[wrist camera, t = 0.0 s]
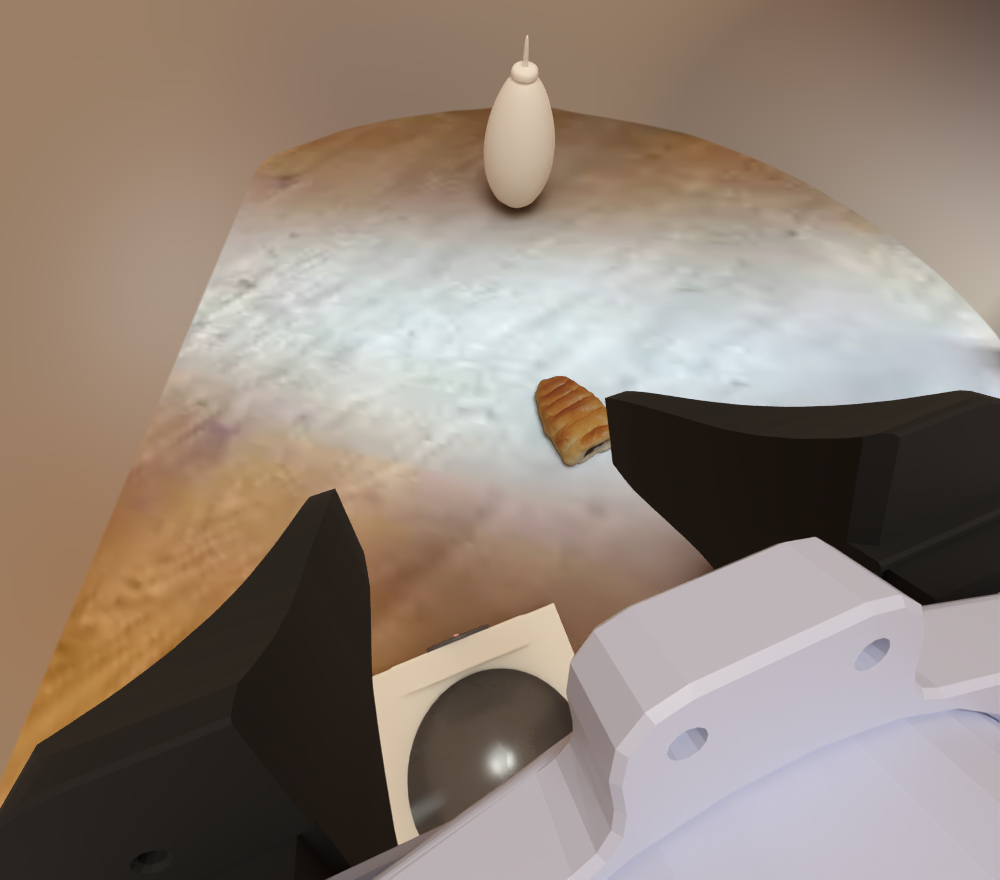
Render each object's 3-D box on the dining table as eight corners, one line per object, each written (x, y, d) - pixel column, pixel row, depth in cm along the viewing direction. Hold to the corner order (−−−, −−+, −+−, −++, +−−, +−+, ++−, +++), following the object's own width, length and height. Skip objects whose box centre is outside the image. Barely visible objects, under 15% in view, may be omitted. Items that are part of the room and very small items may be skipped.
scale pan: (623, 833, 33) (626, 837, 32) (442, 924, 31) (441, 931, 30) (548, 641, 38) (550, 641, 37) (387, 709, 36) (385, 710, 35)
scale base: (645, 848, 35) (678, 889, 29) (436, 956, 33) (425, 1025, 27) (547, 600, 42) (557, 593, 36) (366, 673, 39) (345, 678, 33)
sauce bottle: (525, 234, 59) (541, 72, 42) (472, 207, 60) (467, 40, 44) (557, 196, 61) (585, 30, 45) (506, 171, 63) (514, 1, 46)
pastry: (517, 400, 50) (520, 381, 46) (571, 372, 52) (577, 352, 48) (568, 474, 47) (575, 460, 43) (623, 442, 48) (634, 426, 45)
